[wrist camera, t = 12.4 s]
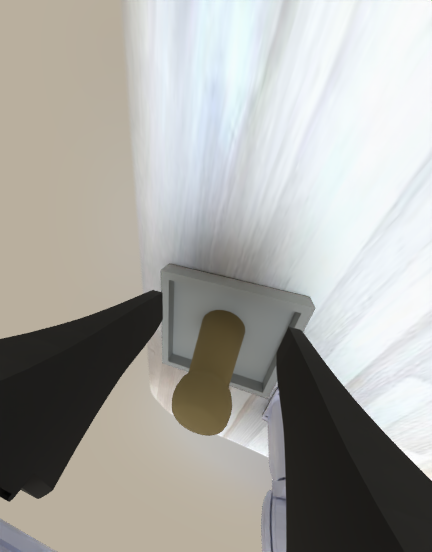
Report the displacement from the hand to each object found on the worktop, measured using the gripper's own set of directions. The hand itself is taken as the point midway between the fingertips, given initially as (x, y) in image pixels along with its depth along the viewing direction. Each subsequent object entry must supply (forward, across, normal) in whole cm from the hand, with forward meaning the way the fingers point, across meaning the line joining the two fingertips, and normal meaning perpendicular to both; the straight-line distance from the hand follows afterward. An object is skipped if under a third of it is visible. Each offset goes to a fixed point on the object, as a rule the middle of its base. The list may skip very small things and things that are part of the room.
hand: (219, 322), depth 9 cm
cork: (+10, 0, +10) cm, 14 cm away
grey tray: (+10, 0, +11) cm, 15 cm away
